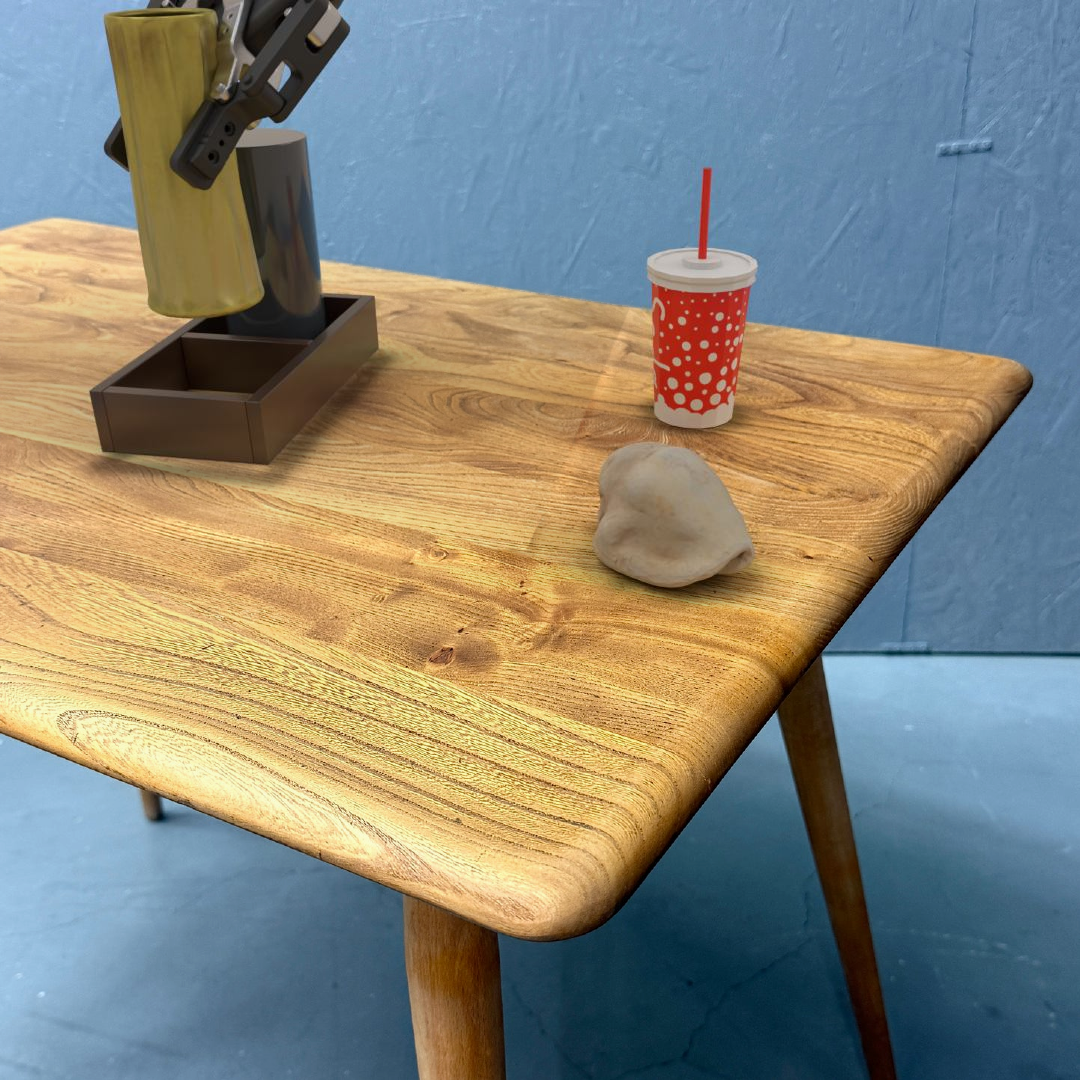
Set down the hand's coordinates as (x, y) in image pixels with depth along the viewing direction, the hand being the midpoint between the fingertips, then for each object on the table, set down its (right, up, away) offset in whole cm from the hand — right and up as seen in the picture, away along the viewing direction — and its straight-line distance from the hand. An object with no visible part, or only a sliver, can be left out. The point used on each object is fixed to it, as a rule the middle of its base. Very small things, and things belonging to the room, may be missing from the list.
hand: (153, 170), depth 57 cm
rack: (+2, -10, +12) cm, 16 cm away
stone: (+25, -19, -4) cm, 32 cm away
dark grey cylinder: (+3, -8, +15) cm, 17 cm away
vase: (+1, -6, +5) cm, 8 cm away
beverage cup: (+28, -11, +11) cm, 32 cm away
